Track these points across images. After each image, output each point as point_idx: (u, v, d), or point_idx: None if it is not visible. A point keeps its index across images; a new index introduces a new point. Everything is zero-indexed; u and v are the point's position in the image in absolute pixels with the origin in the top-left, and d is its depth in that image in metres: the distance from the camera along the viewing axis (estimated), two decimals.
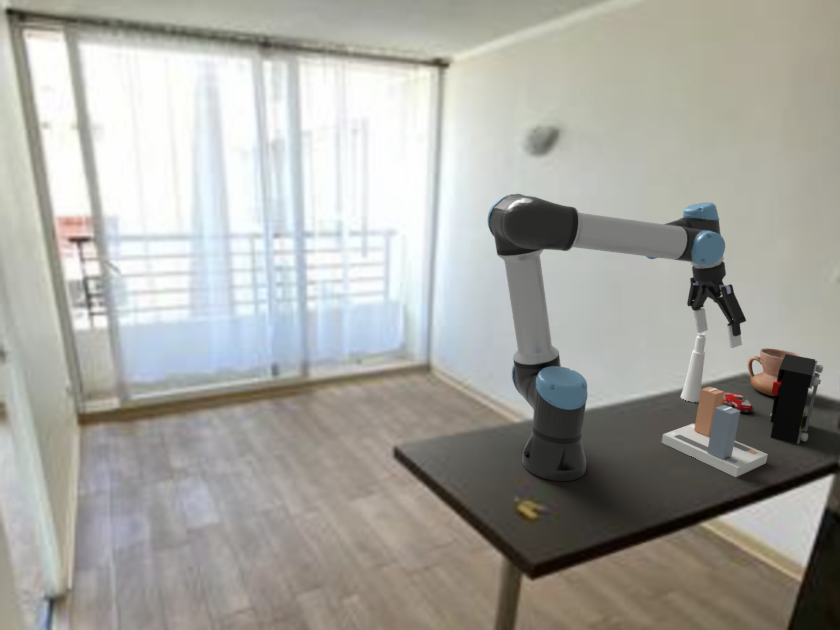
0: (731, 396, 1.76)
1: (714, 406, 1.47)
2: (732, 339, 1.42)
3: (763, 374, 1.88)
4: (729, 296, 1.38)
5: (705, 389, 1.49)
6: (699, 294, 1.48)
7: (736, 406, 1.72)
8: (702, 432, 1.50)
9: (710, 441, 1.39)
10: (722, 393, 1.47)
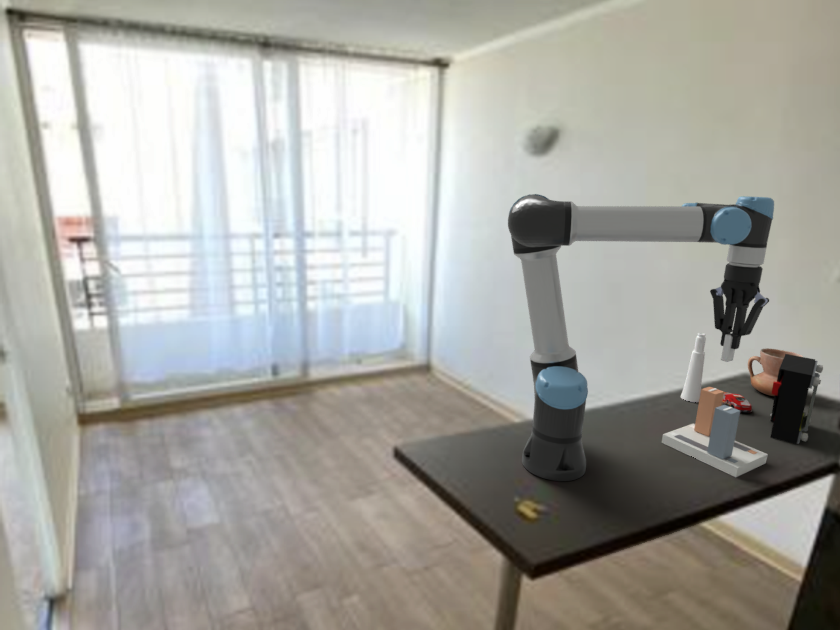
0: (731, 396, 1.76)
1: (714, 406, 1.47)
2: (729, 352, 1.34)
3: (763, 374, 1.88)
4: (759, 309, 1.28)
5: (705, 389, 1.49)
6: (729, 302, 1.32)
7: (735, 406, 1.72)
8: (702, 432, 1.50)
9: (710, 441, 1.39)
10: (722, 393, 1.47)
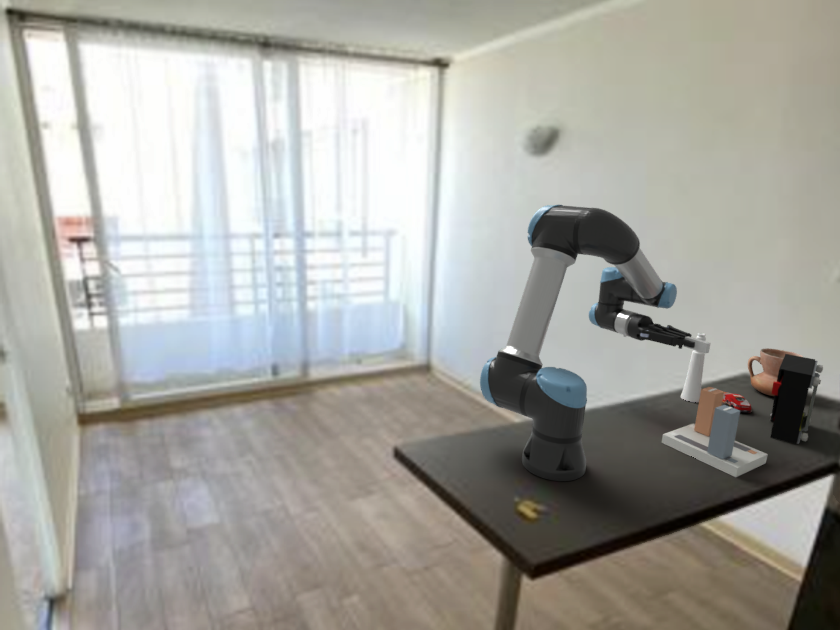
0: (730, 396, 1.76)
1: (714, 406, 1.47)
2: None
3: (763, 374, 1.88)
4: None
5: (705, 389, 1.49)
6: (659, 328, 1.58)
7: (735, 406, 1.72)
8: (702, 432, 1.50)
9: (710, 441, 1.39)
10: (722, 393, 1.47)
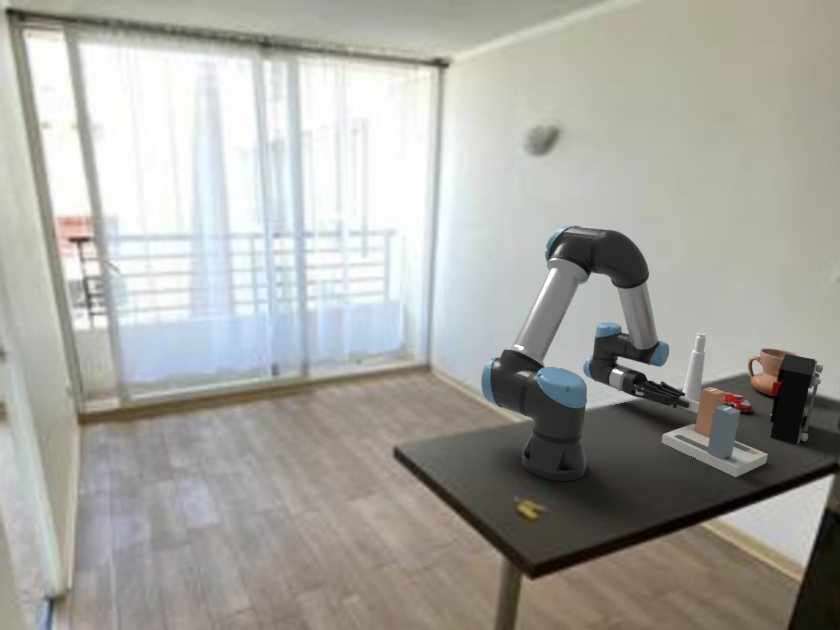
0: (730, 396, 1.76)
1: (714, 406, 1.46)
2: None
3: (763, 374, 1.88)
4: None
5: (706, 389, 1.49)
6: (653, 386, 1.62)
7: (735, 406, 1.72)
8: (703, 432, 1.50)
9: (710, 441, 1.39)
10: (723, 393, 1.47)
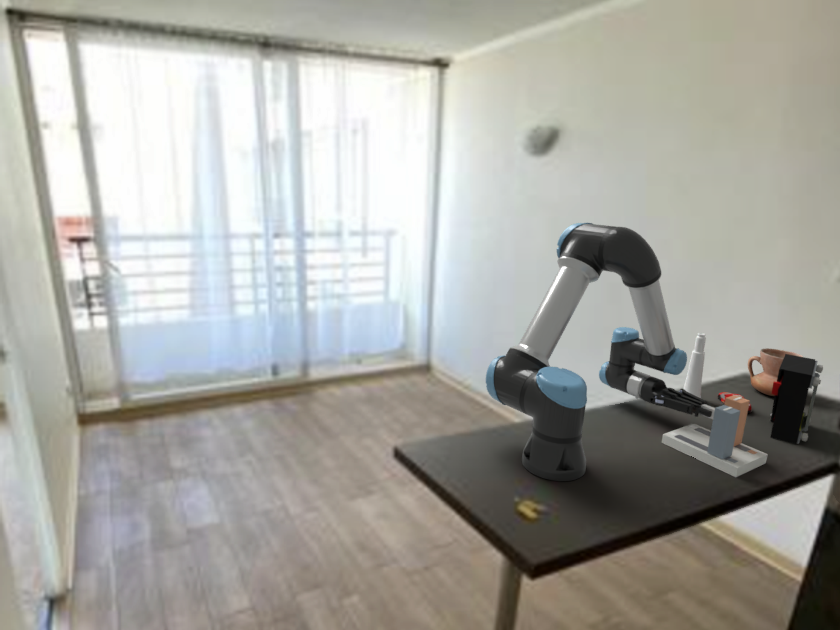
0: None
1: (739, 416, 1.41)
2: None
3: (763, 374, 1.88)
4: None
5: (730, 398, 1.43)
6: (674, 393, 1.57)
7: None
8: None
9: (710, 441, 1.39)
10: (748, 402, 1.42)
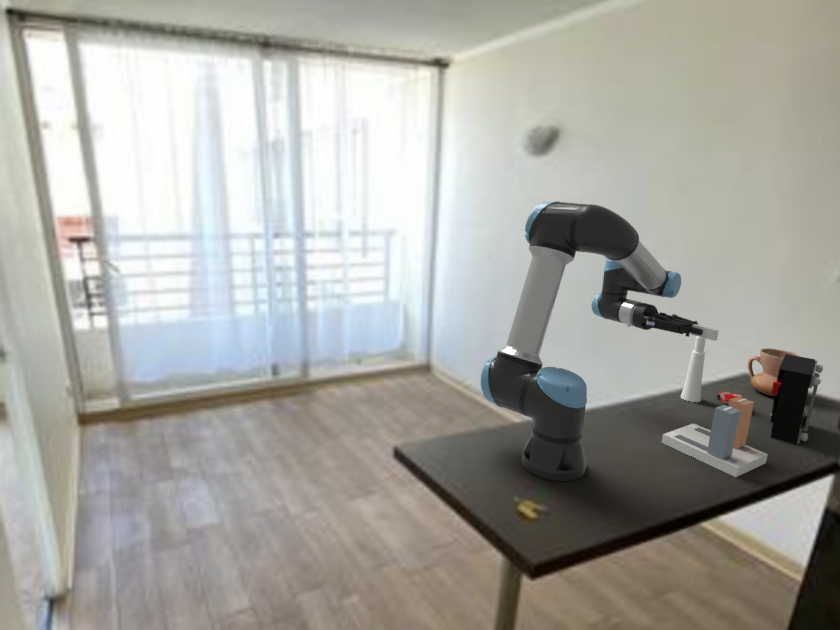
0: (730, 396, 1.76)
1: (743, 417, 1.40)
2: None
3: (763, 374, 1.88)
4: None
5: (734, 399, 1.42)
6: (665, 316, 1.57)
7: None
8: None
9: (710, 441, 1.39)
10: (752, 403, 1.41)
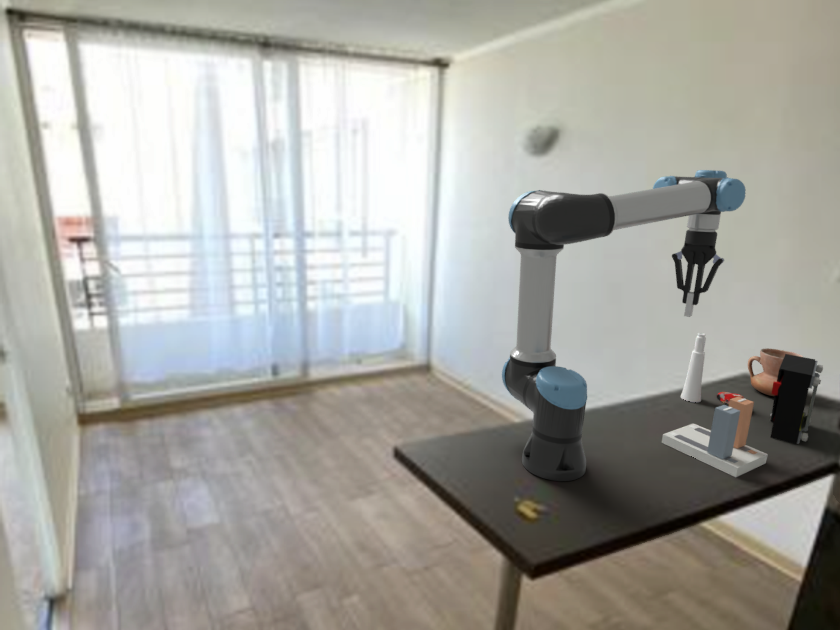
0: (730, 396, 1.76)
1: (743, 417, 1.40)
2: (691, 308, 1.53)
3: (763, 374, 1.88)
4: (717, 268, 1.48)
5: (734, 399, 1.42)
6: (691, 264, 1.50)
7: None
8: None
9: (710, 441, 1.39)
10: (752, 403, 1.41)
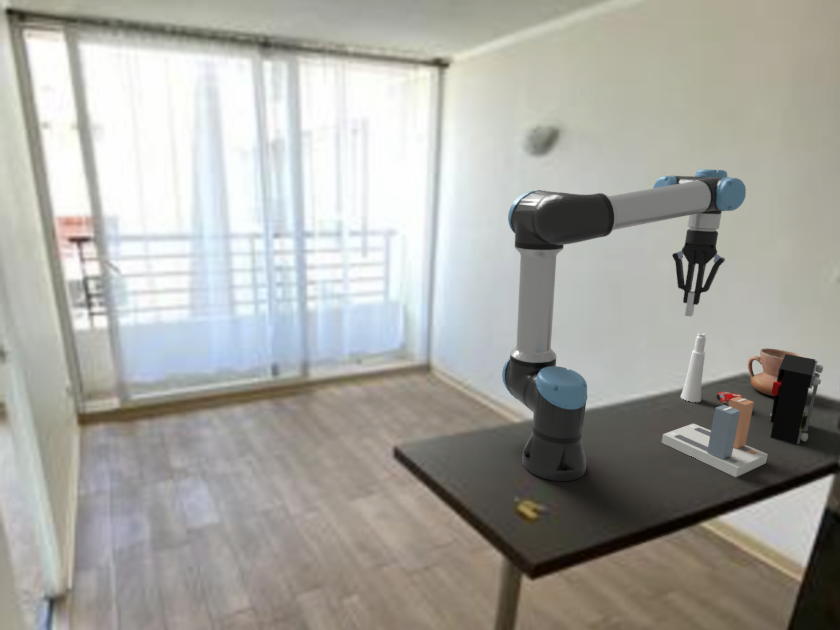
0: (730, 395, 1.76)
1: (743, 417, 1.40)
2: (692, 308, 1.52)
3: (763, 374, 1.88)
4: (717, 267, 1.48)
5: (734, 399, 1.42)
6: (691, 263, 1.50)
7: None
8: None
9: (710, 441, 1.39)
10: (752, 403, 1.41)
